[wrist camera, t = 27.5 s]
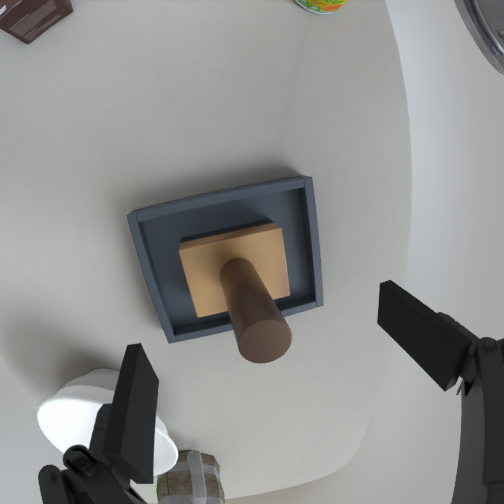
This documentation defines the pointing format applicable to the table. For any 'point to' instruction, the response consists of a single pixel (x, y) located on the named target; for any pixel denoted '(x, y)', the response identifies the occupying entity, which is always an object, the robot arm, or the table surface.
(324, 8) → the supplement bottle
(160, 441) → the bowl
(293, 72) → the table surface
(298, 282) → the tray
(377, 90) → the table surface
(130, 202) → the table surface
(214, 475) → the mug
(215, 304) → the peg on wooden base
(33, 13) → the box
